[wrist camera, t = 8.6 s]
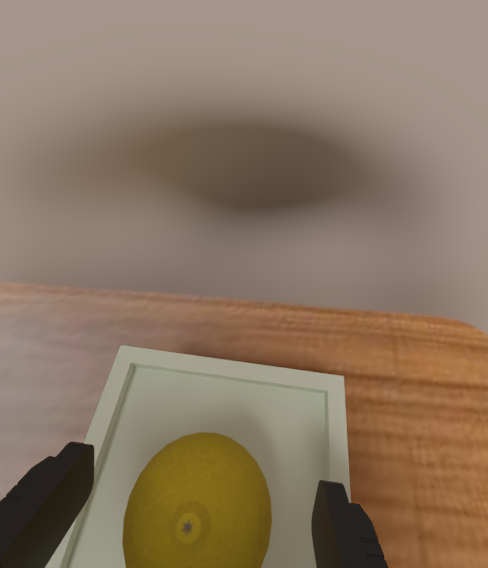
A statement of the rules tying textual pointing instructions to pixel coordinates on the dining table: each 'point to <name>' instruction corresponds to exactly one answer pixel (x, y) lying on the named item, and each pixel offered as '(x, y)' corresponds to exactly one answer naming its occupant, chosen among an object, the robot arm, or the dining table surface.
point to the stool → (213, 419)
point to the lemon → (198, 507)
